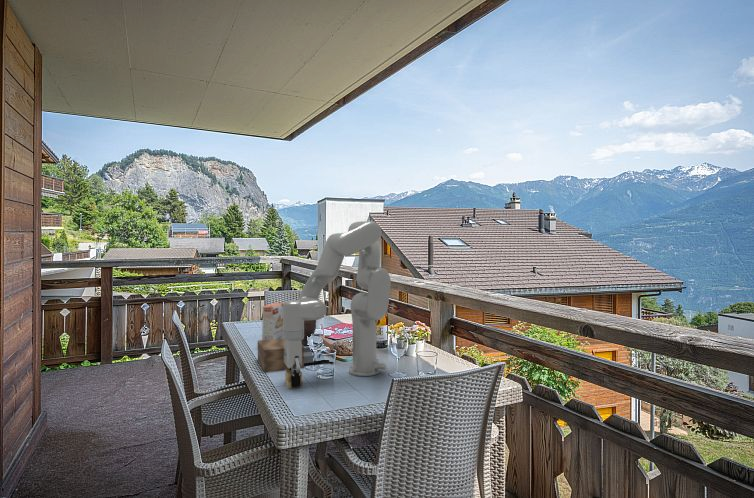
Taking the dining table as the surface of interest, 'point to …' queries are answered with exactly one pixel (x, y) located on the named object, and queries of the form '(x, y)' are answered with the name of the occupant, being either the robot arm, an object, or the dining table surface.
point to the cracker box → (272, 321)
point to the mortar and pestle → (308, 330)
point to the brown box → (273, 355)
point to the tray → (308, 354)
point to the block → (288, 378)
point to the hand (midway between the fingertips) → (293, 383)
